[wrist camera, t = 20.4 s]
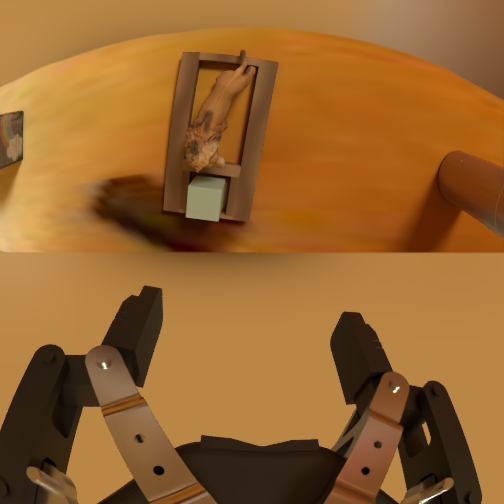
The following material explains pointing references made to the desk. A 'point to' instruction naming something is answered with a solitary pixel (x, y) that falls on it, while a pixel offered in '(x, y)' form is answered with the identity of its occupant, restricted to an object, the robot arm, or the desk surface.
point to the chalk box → (11, 138)
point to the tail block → (205, 197)
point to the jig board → (240, 173)
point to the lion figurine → (215, 118)
